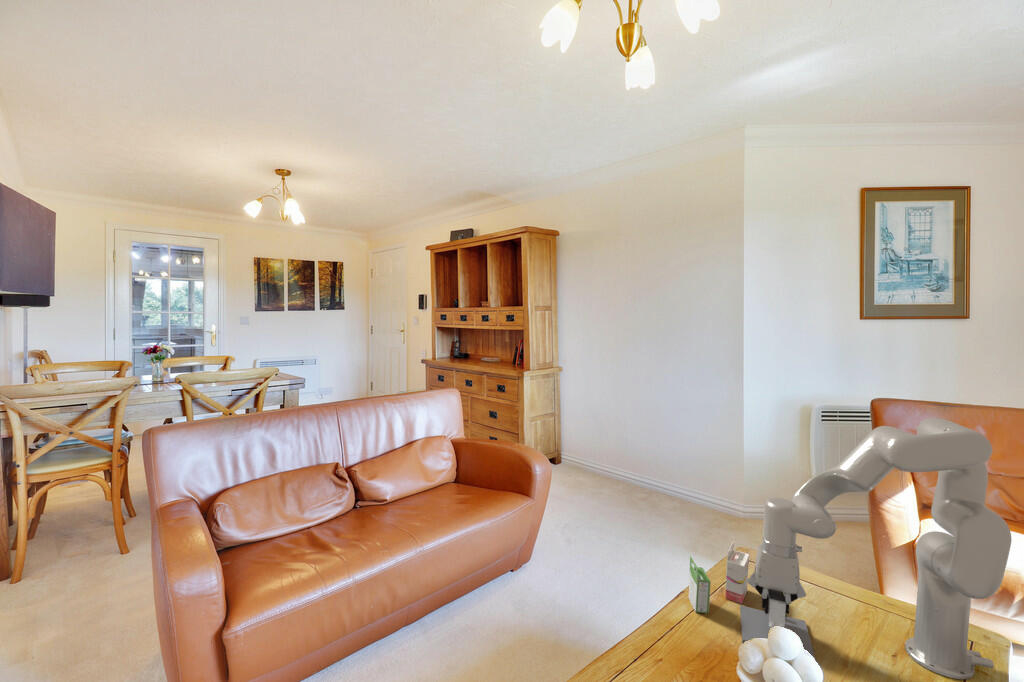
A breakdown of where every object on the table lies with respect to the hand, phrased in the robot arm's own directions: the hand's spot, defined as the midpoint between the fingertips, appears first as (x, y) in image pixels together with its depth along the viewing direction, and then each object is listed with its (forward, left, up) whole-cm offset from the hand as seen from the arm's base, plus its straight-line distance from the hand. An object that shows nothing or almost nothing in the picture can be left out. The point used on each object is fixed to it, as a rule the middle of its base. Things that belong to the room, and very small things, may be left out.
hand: (774, 612), depth 124 cm
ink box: (+19, -4, -6) cm, 20 cm away
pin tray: (0, 0, -6) cm, 6 cm away
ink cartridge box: (+8, -14, -6) cm, 18 cm away
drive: (0, 0, -1) cm, 1 cm away
